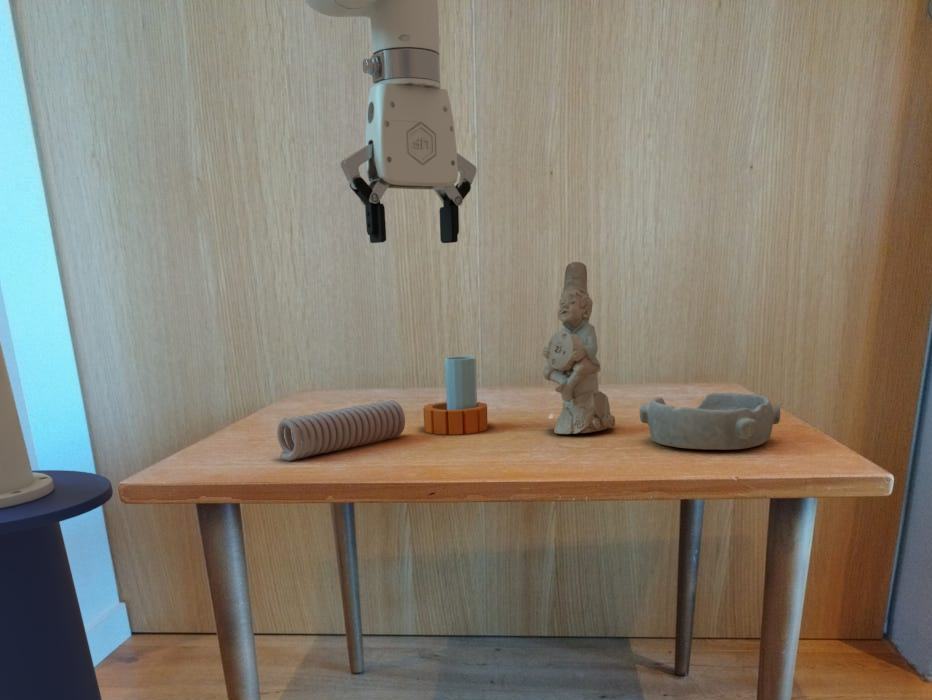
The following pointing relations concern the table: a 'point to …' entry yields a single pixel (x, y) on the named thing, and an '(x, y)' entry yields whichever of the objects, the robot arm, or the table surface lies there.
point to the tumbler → (460, 382)
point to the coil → (339, 429)
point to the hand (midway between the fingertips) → (414, 242)
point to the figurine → (577, 360)
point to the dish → (713, 422)
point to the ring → (455, 419)
